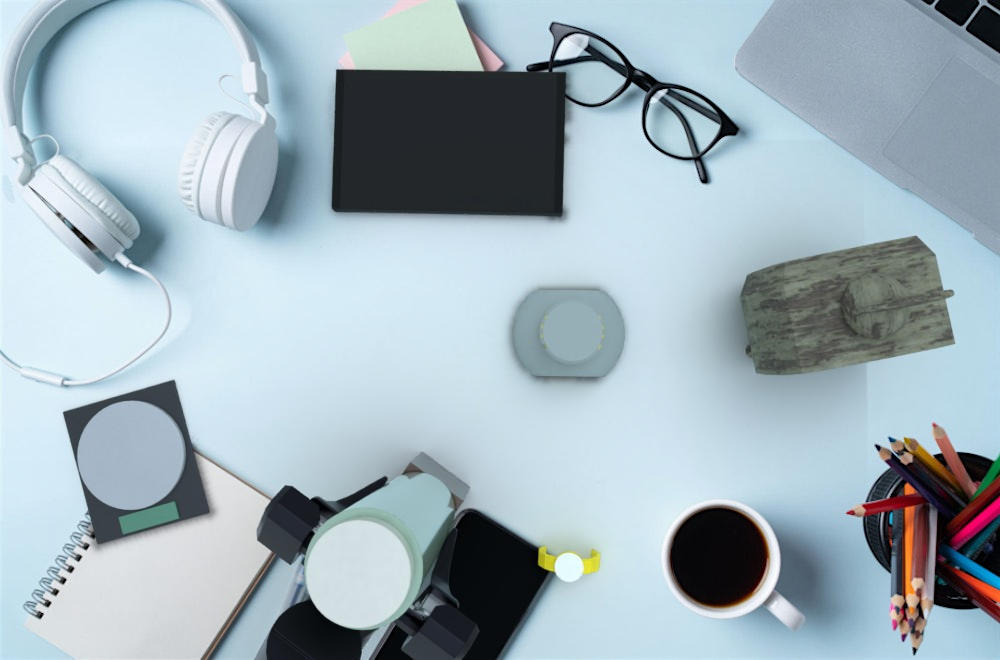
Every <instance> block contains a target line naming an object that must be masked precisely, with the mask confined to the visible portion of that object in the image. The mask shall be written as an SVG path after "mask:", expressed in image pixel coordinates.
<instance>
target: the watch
mask: <svg viewBox="0 0 1000 660" xmlns="http://www.w3.org/2000/svg"><path fill="white" fill-rule="evenodd" d="M547 548H548V547H547V546H546V545H543V546H541V547H539V548H538V559H537V565H538V566H539V567H540V568H542V569H544V570H547V571H549V572H554V573H555V575H556V576H557V578H558V579H560V580H561V581H562V582H566V583H573V582H575V581H577V580H579V579H580V578H581V577H582V575H591V574H593V573H596V572H598V571H600V566H601V564H600V563H601V552H599V551H597V550H595V549H591V550H590V557H589V558H582V557H581V556H580V554H578V553H577V552H575V551H573V550H565V551H562V552H560V553H559V554H558V555H557V556H555V555H551V554H548V553H547V550H548V549H547Z"/></svg>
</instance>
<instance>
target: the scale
mask: <svg viewBox="0 0 1000 660" xmlns="http://www.w3.org/2000/svg"><path fill="white" fill-rule="evenodd" d="M177 387H178V386H177V383H176V380H175V379H171V380H167V381H164V382H161V383H158V384H154V385H151V386H147V387H143V388H141V389H137V390H134V391H130V392H126V393H123V394H120V395H116V396H112V397H109V398H106V399H103V400H99V401H96V402H95V401H94V402H92V403H88V404H86V405H82V406H79V407H75V408H72V409H68V410H64V411H62V414H63V419H64V422H65V423H64V424H65V425H66V430H67V434H68V437H69V442H70V446H71V450H72V453H73V457H74V461H75V464H76V469H77V473H78V476H79V480H80V485H81V487H82V488H81V489H82V491H83V495H84V499H85V504H86V507H87V510H88V515H89V518H90V521H91V525H92V529H93V533H94V538H95V541H96V545H101V544H105V543H108V542H112V541H115V540H119V539H122V538H126V537H129V536H133V535H136V534H140V533H143V532H147V531H151V530H155V529H157V528H161V527H164V526H168V525H171V524H175V523H179V522H182V521H186V520H189V519H193V518H195V517H200V516H204V515H207V514H210V513H211V510H210V505H209V503H208V500H207V496H206V492H205V488H204V484H203V481H202V477H201V473H200V469H199V466H198V462H197V459H196V458H197V457H196V453H195V451H194V447H193V443H192V440H191V436H190V433H189V428H188V425H187V421H186V417H185V413H184V409H183V406H182V403H181V402H182V401H181V397H180V394H179V391H178V388H177Z"/></svg>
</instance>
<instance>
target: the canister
mask: <svg viewBox="0 0 1000 660" xmlns="http://www.w3.org/2000/svg"><path fill="white" fill-rule="evenodd" d="M455 516H456V513H455V506H454V501H453V498H452V495H451V493H450V491H449V490H448V488H447V487H446V486H445V485H444V483H442V482H441V481H440V480H439V479H437V478H436V477H434V476H432V475H429V474H427V473H422V472H411V473H406V474H403V475H401V474H400V475H398V476H396V477H394V478H393V479H391V480H389V482H388V481H387V482H386V484H385V485H384V486H382V487H380V488H379V489H377V490H375V491H374V492H372V493H370V494H369V495H367V496H366V497H364V498H362V499H361V500H359V501H357V502H356V503H354V504H353V505H351V506H349V507H348V508H346V509H344V510H343V511H341V512H340V513H338V514H336V515H335V516H333V517H332V518H330V519H329V520H327V521H326V522H325V523H324V524H323V525H322V526H321V527H320V528H319V529H318V530H317V532H316V533H315V535H314V536H313V538H312V540H311V542H310V544H309V546H308V549H307V552H306V556H305V561H304V566H303V578H304V583H305V587H306V590H307V594H308V593H309V595H310V597H311V599H312V601H313V603H314V605H315V606H316V607H317V609H318V610H319V611H320V612H321V613H322V614H323V615H324V616H325V617H326V618H328V619H329V620H331V621H332V622H334V623H336V624H338V625H340V626H343V627H346V628H350V629H355V630H371V629H375V628H379V627H380V628H382V627H386V626H387V625H389V624H391V623H393V621H395V620H396V619H398V618H399V617H400V616H401V615H402V614H404V613H405V612H406V610H407V609H408V608H409V607H410V606H411V604H412V603H413V601H414V600H415V598H416V596H417V594H418V592H419V590H420V588H421V586H422V584H423V582H424V580H425V579H426V577H427V575H428V573H429V571H430V569H431V567H432V565H433V563H434V561H435V559H436V557H437V555H438V553H439V551H440V549H441V547H442V545H443V543H444V542H445V540H446V538H447V536H448V534H449V533H450V531H451V530H452V529H453V525H454V522H455ZM380 628H379V629H380Z"/></svg>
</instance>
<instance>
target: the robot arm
mask: <svg viewBox="0 0 1000 660" xmlns="http://www.w3.org/2000/svg"><path fill="white" fill-rule="evenodd" d="M388 480H389V477H388V476H386V475H384V476H381V477H380V478H378V479H376V480H375V481H373V482H371V483H369V484H367V485H366V486H364V487H362V488H361V489H359V490H357V491H355V492H353V493H352V494H349V495H347V496H345V497H343V498H340V499H337V500H325V499H323V498H322V497H321V496H319V495H314V496H313V497H311V498H310V497H308V496H306V495H305V494H304V493H302V492H301V491H300V490H298V489H297V488H296V487H294V485H288V484H285V485H284V486H283V487H282V488H281V489H280V490H279V491H278V492H277V493H276V494H275V495H274V496H273V498H272V499H271V500H270V501H269V502H268V504H267V505H266V506H265V509H264V511H263V513H262V515H261V518H260V521H259V523H258V524H257V527H256V541H257V542H259V543H260V544H261V545H262V546H264V548H266V549H268V550H269V551H270V552H272V553H273V554H275V556H277V557H278V558H279V559H281V560H282V561H283V562H285V564H288V565H289V566H292V565H293V564H294V563H295V562H296V561H297V560H298V559H299V557H301V558H303V559H302V561H301V562H300V564H301V566H303V567H304V561H305V556H306V552H307V549H308V546H309V544H310V542H311V540H312V538H313V536H314V535H315V533H316V532H317V530H318V529H319V528H320V527H321V526H322V525H323V524H324V523H325V522H326V521H327V520H329V519H330V518H332V517H333V516H335V515H336V514H338V513H340V512H341V511H343V510H344V509H346V508H348V507H349V506H351V505H353V504H354V503H356V502H357V501H359V500H361V499H362V498H364V497H366V496H367V495H369V494H370V493H372V492H374V491H375V490H377V489H379V488H380V487H382V486H384V485H385V484H387V483H388ZM458 532H459V531H458V529H457V528H456V527H452V528H451V530H450V532H449V534H448V536H447V538H446V540H445V542H444V543H443V545H442V547H441V549H440V551H439V553H438V555H437V557H436V559H435V561H434V563H433V565H432V567H431V569H430V571H429V573H428V575H427V577H426V579H425V580H424V582H423V584H422V586H421V588H420V590H419V592H418V594H417V596H416V598H415V600H414V601H413V603H412V604H411V606H410V607H409V608H408V609H407V610H406V612H405V613H404V614H402V615H401V616H400V617H399V618H398V619H396V620H395V621H393V622H392V623H393V624H395V625H396V626H397V627H398V628H400V629H401V631H404V632H405V633H406V634H408V636H407V637H406V639H405V641H404V642H403V644H402V646H401V649H400V650H401V651H402V652H404V653H405V654H406V655H408V656H409V657H410V658H411V659H413V660H462V659H464V657H465V656H466V654H468V652H469V650H470V649H471V647H472V645H473V643H474V642H475V640H476V638H477V637H478V635H479V633H480V630H479V627H478V625H477V624H476V622H474V621H473V620H472V619H470V618H469V617H468V616H466V615H465V614H463V613H462V612H461V611H460V610H458V609H459V607H460V602H459V600H458V599H457V598H456V597H454V596H453V595H452V592H451V590H450V586H449V585H450V584H449V583H450V570H451V563H452V560H453V554H454V549H455V544H456V540H457V535H458ZM380 628H381V627H379V628H375V629H371V630H355V629H350V628H346V627H343V626H340V625H338V624H336V623H334V622H332V621H331V620H329V619H328V618H326V617H325V616H324V615H323V614H322V613H321V612H320V611H319V610H318V609H317V607H316V606H315V605H314V603H313V601H312V599H311V597H310V595H309V593H308V592H307V594H306V596H305V597H304V598H303V600H302V601H299V602H297V603H295V604H293V605H291V606H290V607H288V608H286V609H285V610H284V611H283V612H282V613H281V614H280V615H278V616H277V618H276V620H275V621H274V623H273V624H272V626H271V628H270V629H269V632H268V633H267V635H266V637H265V639H264V640H263V642H262V644H261V646H260V647H259V649H258V651H257V654H256V655H255V656H254V659H253V660H362V659H361V658H362V654H363V650H364V648H365V646H366V645H367V643H368V642H369V641H370V639H371V638H372V636H373V635H374V633H376V631H378V630H379V629H380Z"/></svg>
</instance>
